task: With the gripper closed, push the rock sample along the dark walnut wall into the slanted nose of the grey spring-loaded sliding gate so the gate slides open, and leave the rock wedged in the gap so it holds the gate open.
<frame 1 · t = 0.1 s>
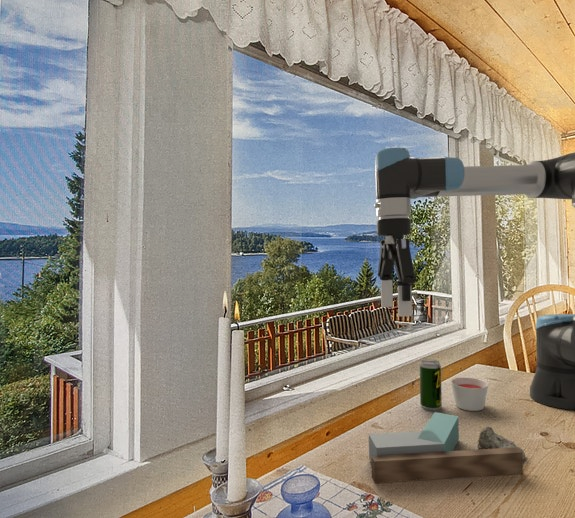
hand: (395, 311, 98), 28 cm above the table, tool pointing down, fingers open, 13 cm apart
candle: (469, 407, 113), on the table
rock sample: (501, 455, 87), on the table
beer can: (431, 407, 113), on the table
walnut wall: (447, 475, 80), on the table
sliding gate: (418, 439, 89), point 3 cm above the table, slide at 0.0 cm
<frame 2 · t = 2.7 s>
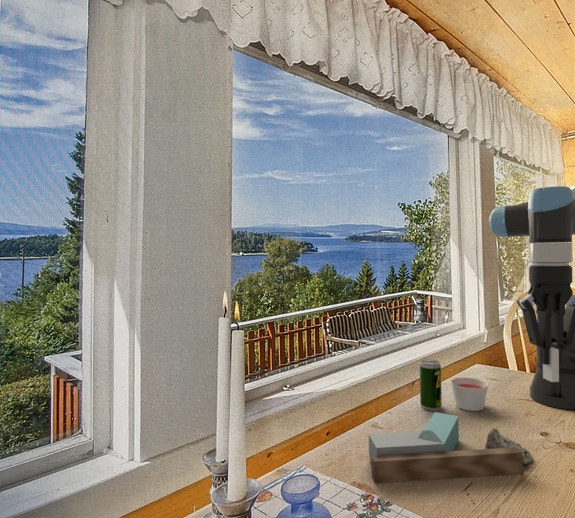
hand: (550, 379, 87), 15 cm above the table, tool pointing down, fingers closed
rock sample: (507, 458, 86), on the table
everything else where it was.
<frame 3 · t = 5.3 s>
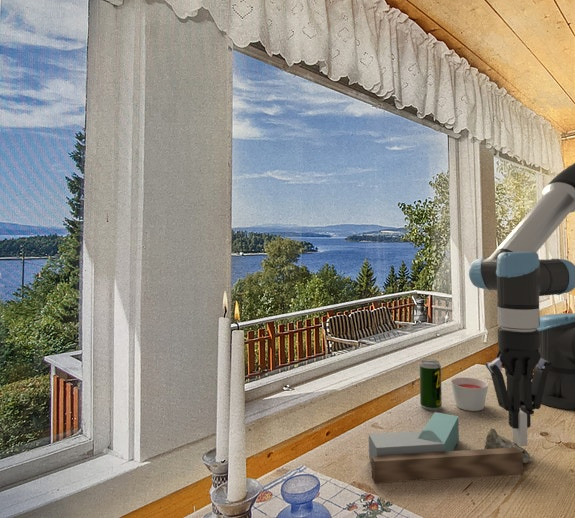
hand: (519, 442, 87), 2 cm above the table, tool pointing down, fingers closed
rock sample: (506, 457, 86), on the table, touching gripper
everything else where it was.
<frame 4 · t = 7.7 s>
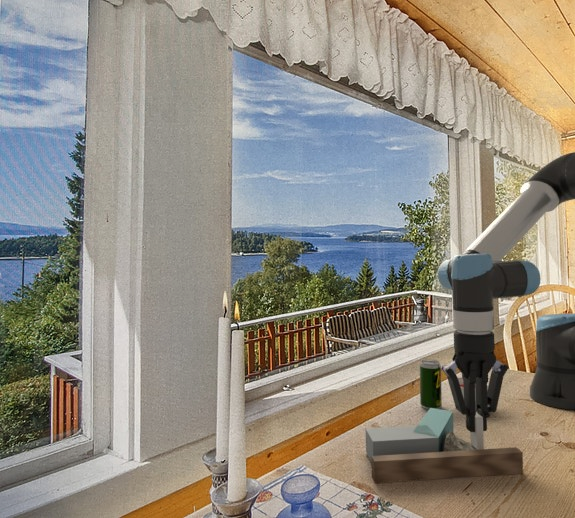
hand: (477, 446, 87), 2 cm above the table, tool pointing down, fingers closed
rock sample: (464, 460, 86), on the table, touching gripper
sliding gate: (413, 434, 91), point 3 cm above the table, slide at 2.7 cm
everything else where it was.
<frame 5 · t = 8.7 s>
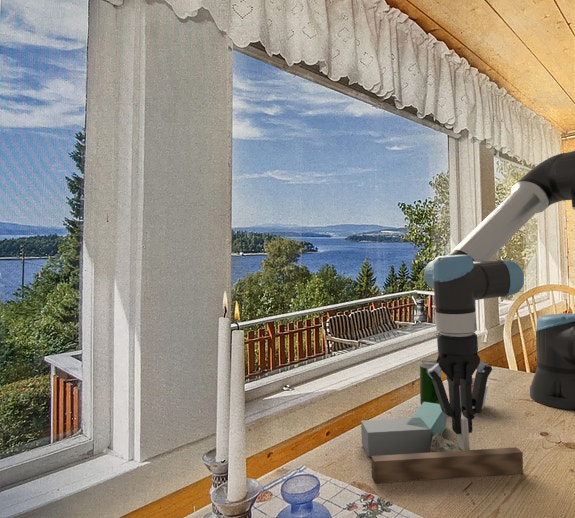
hand: (463, 448, 86), 2 cm above the table, tool pointing down, fingers closed
rock sample: (450, 461, 86), on the table, touching gripper, walnut wall
sliding gate: (407, 426, 95), point 3 cm above the table, slide at 6.5 cm
everything else where it was.
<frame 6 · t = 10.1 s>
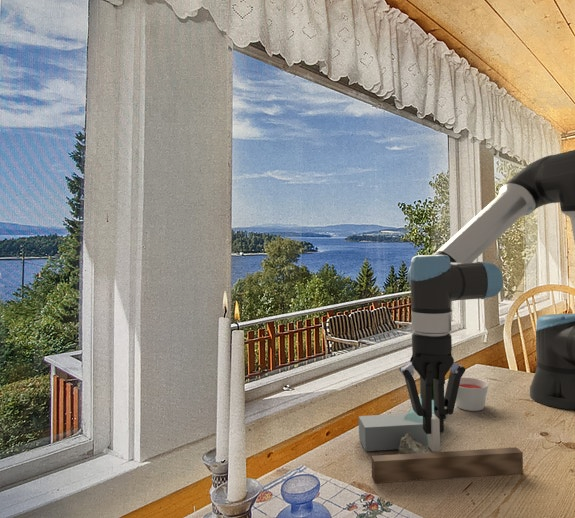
hand: (433, 448, 86), 2 cm above the table, tool pointing down, fingers closed
rock sample: (420, 462, 86), on the table, touching gripper, sliding gate
sliding gate: (403, 421, 98), point 3 cm above the table, slide at 9.0 cm, touching rock sample
everything else where it was.
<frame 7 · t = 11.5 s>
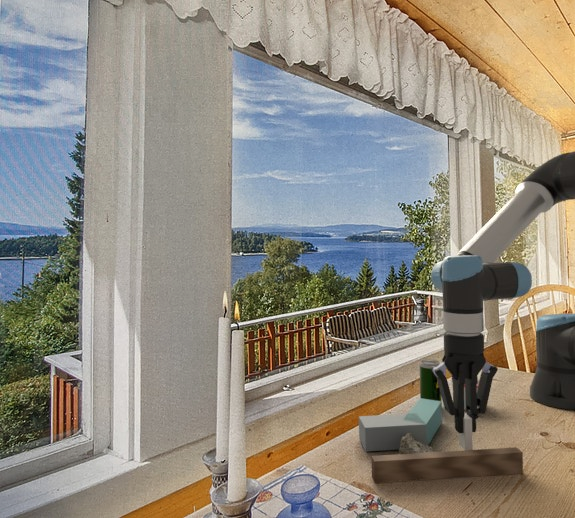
hand: (465, 447, 87), 2 cm above the table, tool pointing down, fingers closed
rock sample: (421, 462, 86), on the table, touching sliding gate
everything else where it was.
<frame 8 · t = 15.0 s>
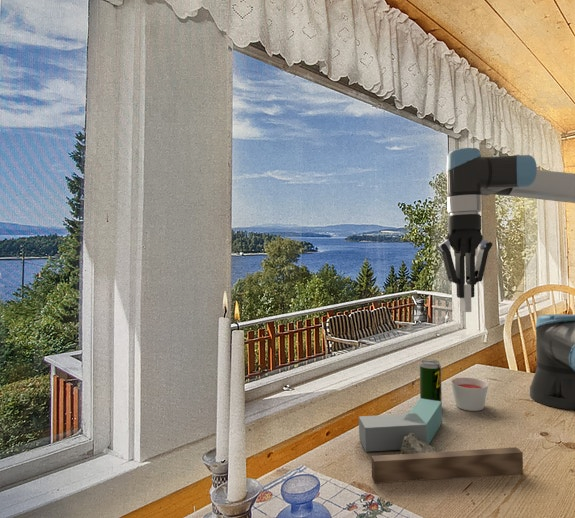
hand: (465, 311, 105), 26 cm above the table, tool pointing down, fingers closed
rock sample: (423, 462, 85), on the table
sliding gate: (404, 422, 97), point 3 cm above the table, slide at 8.8 cm
everything else where it was.
at the end: sliding gate slide at 8.8 cm; rock sample inside the target area (4.6 cm from its centre), on the table; the gripper is holding nothing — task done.
